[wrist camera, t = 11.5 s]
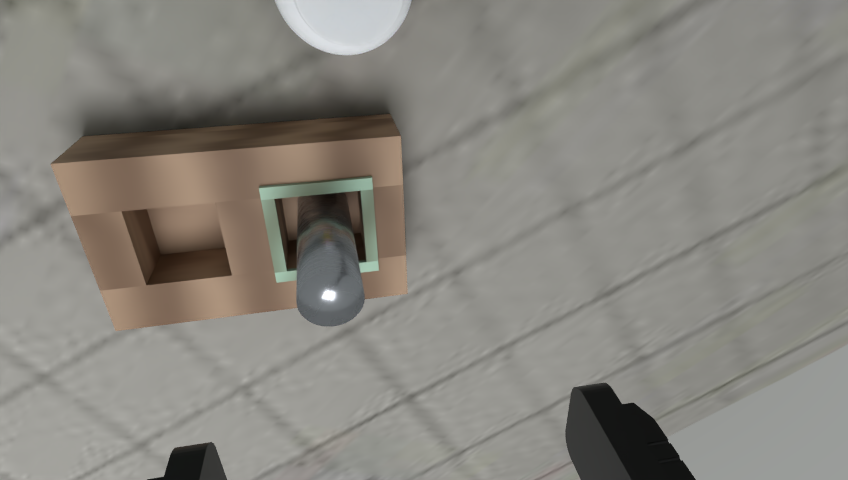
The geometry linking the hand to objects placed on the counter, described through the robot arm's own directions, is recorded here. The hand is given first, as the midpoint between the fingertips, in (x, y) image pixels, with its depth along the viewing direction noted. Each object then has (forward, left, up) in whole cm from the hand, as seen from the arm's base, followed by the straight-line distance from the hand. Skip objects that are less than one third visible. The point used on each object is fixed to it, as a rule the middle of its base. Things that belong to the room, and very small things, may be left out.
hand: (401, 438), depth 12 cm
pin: (+2, +7, -27) cm, 28 cm away
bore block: (+6, +7, -28) cm, 30 cm away
